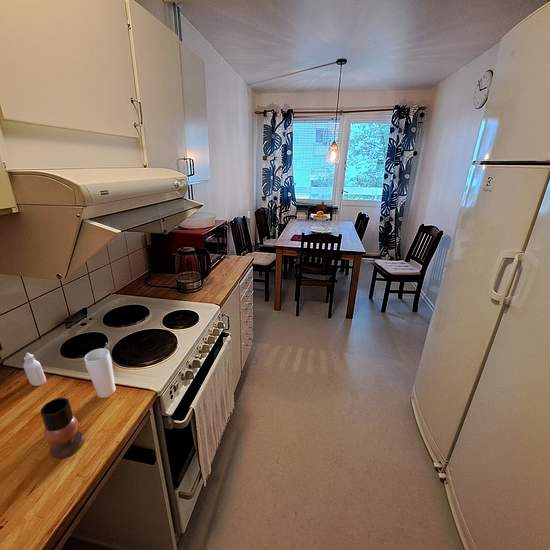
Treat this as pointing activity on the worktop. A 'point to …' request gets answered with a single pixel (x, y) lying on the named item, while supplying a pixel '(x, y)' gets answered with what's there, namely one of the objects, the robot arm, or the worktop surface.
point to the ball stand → (65, 440)
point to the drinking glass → (101, 371)
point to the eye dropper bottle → (33, 370)
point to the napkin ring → (56, 414)
